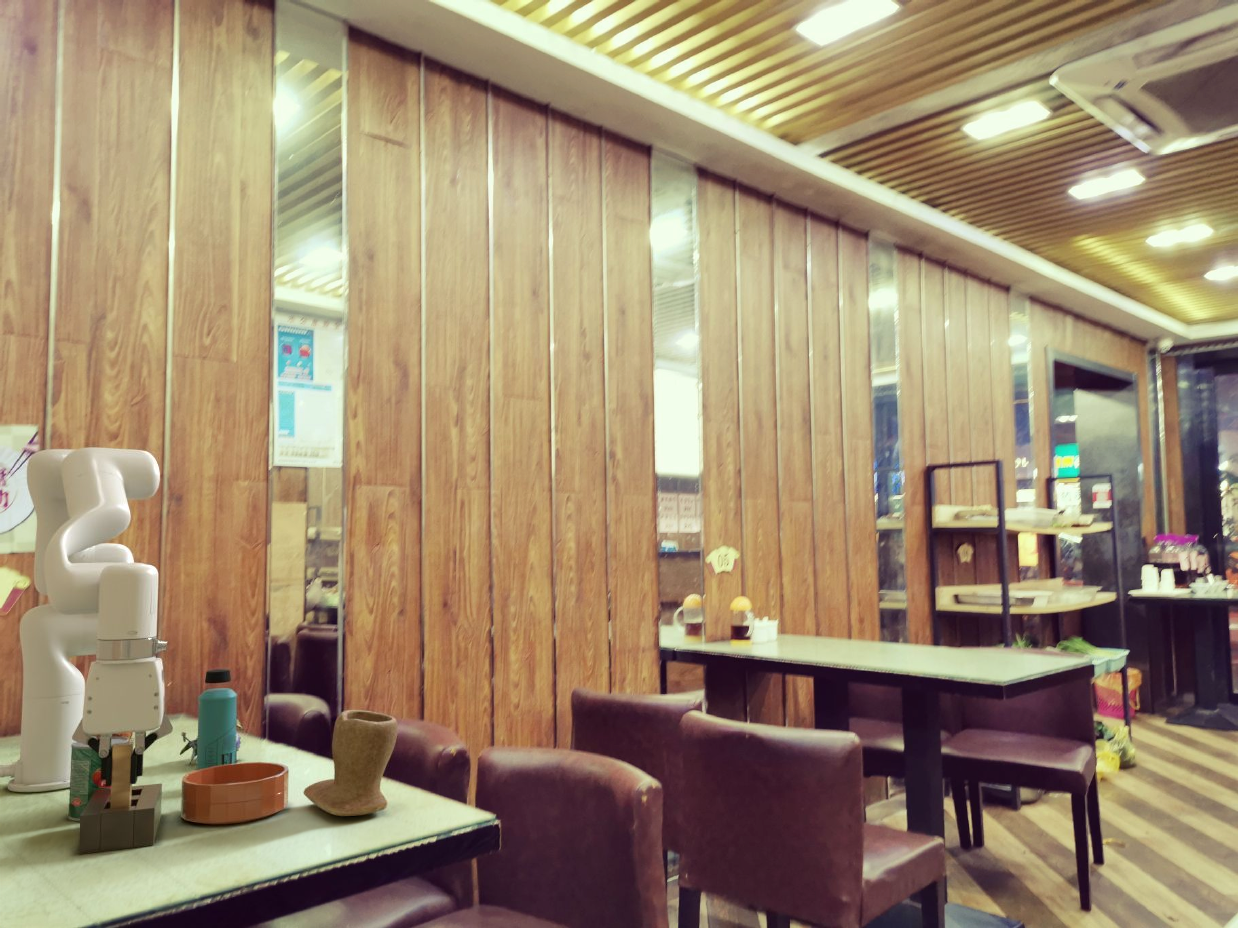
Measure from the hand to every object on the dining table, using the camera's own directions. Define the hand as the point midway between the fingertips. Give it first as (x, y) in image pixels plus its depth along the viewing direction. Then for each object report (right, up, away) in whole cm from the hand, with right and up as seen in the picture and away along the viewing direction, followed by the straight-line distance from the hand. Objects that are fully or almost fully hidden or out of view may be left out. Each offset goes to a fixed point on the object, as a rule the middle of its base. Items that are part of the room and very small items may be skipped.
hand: (121, 781), depth 130 cm
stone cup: (+29, -9, +13) cm, 33 cm away
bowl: (+11, -9, +12) cm, 19 cm away
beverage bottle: (+1, -11, +29) cm, 31 cm away
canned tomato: (-11, -10, +13) cm, 19 cm away
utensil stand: (-1, -8, +2) cm, 9 cm away
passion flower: (-9, -13, +48) cm, 51 cm away
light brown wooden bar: (0, -8, -1) cm, 8 cm away
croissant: (-41, -16, +71) cm, 84 cm away
